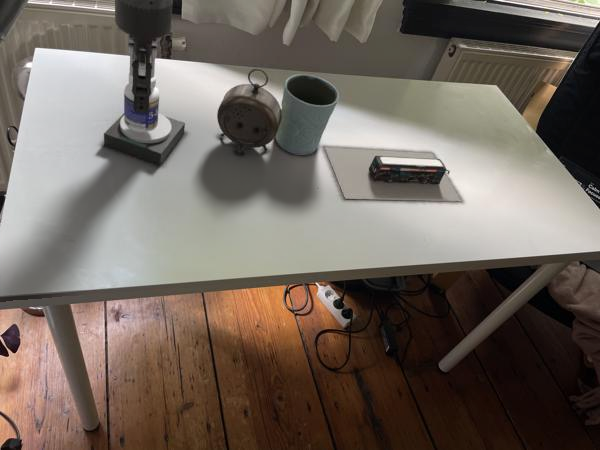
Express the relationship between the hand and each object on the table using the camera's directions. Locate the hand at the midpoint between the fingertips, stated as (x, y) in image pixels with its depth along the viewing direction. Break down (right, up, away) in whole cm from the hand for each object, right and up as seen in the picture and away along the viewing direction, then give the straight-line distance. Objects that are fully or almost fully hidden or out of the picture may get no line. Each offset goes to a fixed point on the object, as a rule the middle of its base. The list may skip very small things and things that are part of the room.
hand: (141, 100), depth 78 cm
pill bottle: (-1, -3, +3) cm, 5 cm away
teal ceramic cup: (+25, -4, +18) cm, 31 cm away
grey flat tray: (+44, -10, +19) cm, 49 cm away
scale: (-2, -5, +8) cm, 9 cm away
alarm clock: (+15, -6, +13) cm, 20 cm away
